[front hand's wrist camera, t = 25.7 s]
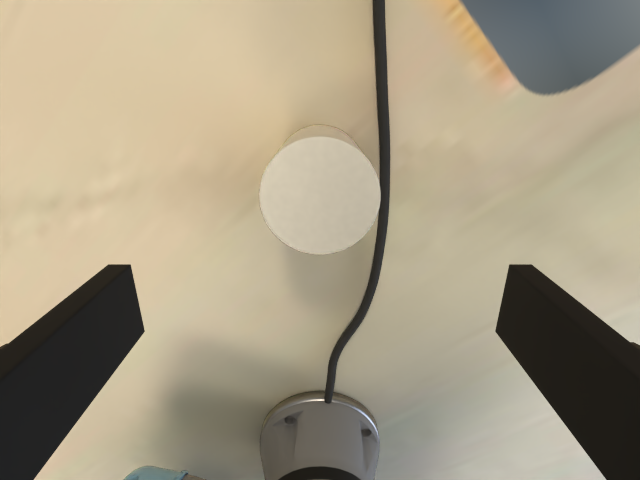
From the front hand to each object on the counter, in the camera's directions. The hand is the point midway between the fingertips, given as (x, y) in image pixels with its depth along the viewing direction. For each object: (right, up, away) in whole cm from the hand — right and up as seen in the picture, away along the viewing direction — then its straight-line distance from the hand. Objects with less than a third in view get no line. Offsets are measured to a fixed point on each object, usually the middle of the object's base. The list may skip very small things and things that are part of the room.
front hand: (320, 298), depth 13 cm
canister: (0, +9, +22) cm, 24 cm away
